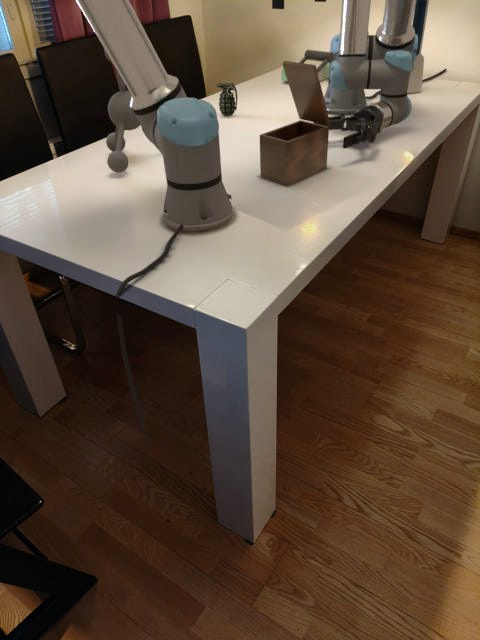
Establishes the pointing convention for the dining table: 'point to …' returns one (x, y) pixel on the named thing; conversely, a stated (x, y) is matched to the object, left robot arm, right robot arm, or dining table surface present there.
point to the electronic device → (418, 64)
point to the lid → (308, 86)
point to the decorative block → (322, 74)
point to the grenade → (227, 99)
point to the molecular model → (120, 125)
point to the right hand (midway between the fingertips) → (323, 137)
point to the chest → (293, 152)
